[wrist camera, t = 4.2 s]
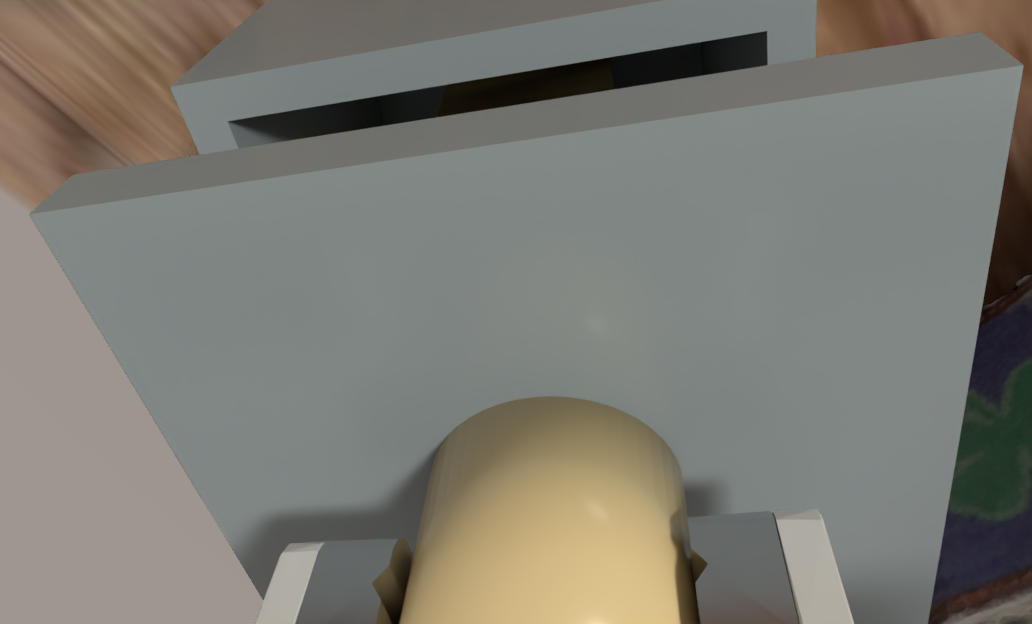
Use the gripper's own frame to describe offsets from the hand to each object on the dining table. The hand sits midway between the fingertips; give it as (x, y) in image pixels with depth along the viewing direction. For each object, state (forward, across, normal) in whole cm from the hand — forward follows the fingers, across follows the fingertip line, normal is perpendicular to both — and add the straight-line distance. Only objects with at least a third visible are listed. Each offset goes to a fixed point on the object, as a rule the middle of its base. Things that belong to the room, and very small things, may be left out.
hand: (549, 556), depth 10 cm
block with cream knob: (+2, 0, 0) cm, 2 cm away
